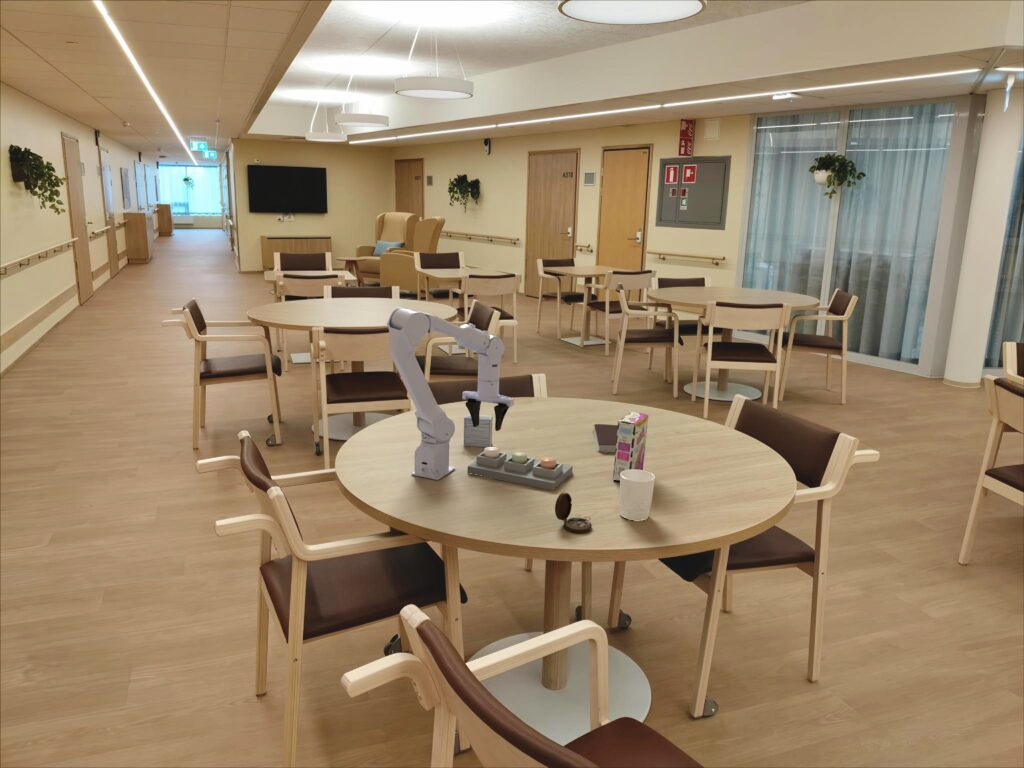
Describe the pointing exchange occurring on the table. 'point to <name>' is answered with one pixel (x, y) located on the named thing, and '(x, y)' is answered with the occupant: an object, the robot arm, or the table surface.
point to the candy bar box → (630, 443)
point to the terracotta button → (548, 463)
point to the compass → (563, 512)
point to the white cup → (636, 493)
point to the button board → (520, 471)
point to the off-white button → (491, 452)
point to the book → (605, 437)
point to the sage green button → (519, 457)
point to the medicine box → (478, 431)
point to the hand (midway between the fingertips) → (486, 428)
